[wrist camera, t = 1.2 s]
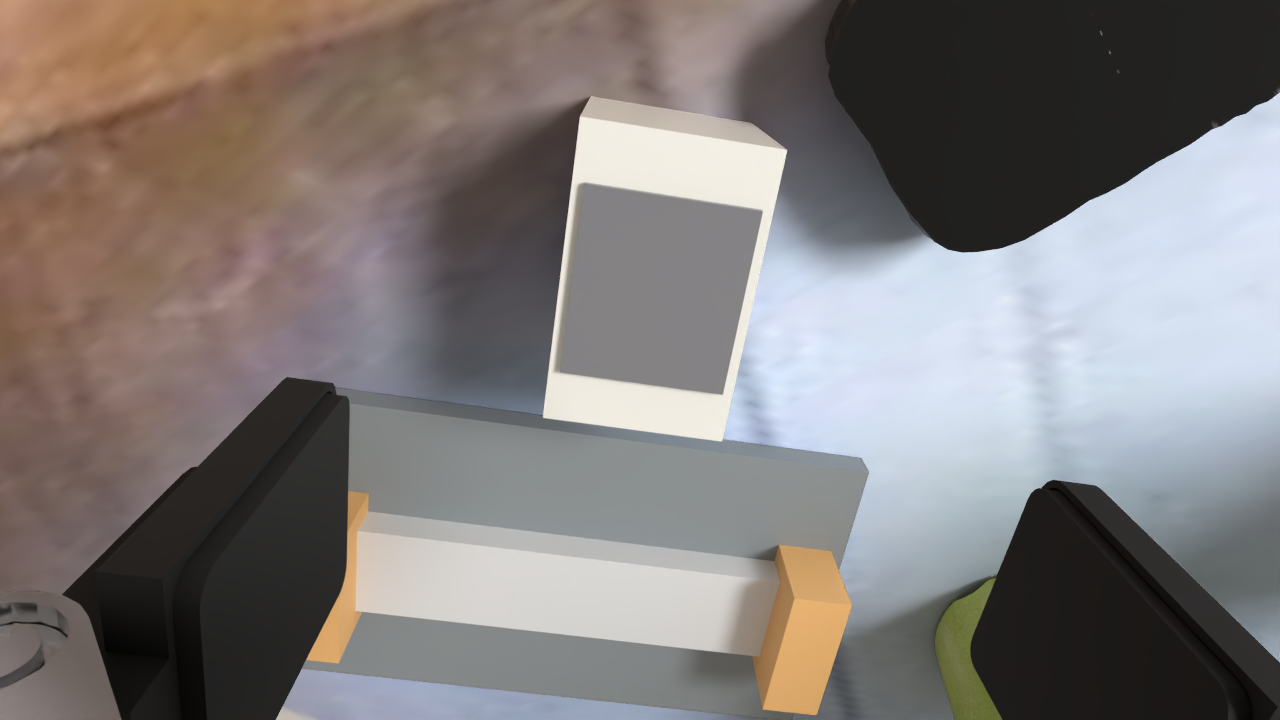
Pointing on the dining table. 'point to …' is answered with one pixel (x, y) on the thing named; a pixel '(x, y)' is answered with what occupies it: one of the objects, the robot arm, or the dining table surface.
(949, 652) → the plant pot
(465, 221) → the dining table surface
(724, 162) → the block
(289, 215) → the dining table surface
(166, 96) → the dining table surface
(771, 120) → the dining table surface
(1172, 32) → the black sponge
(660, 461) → the rail board
